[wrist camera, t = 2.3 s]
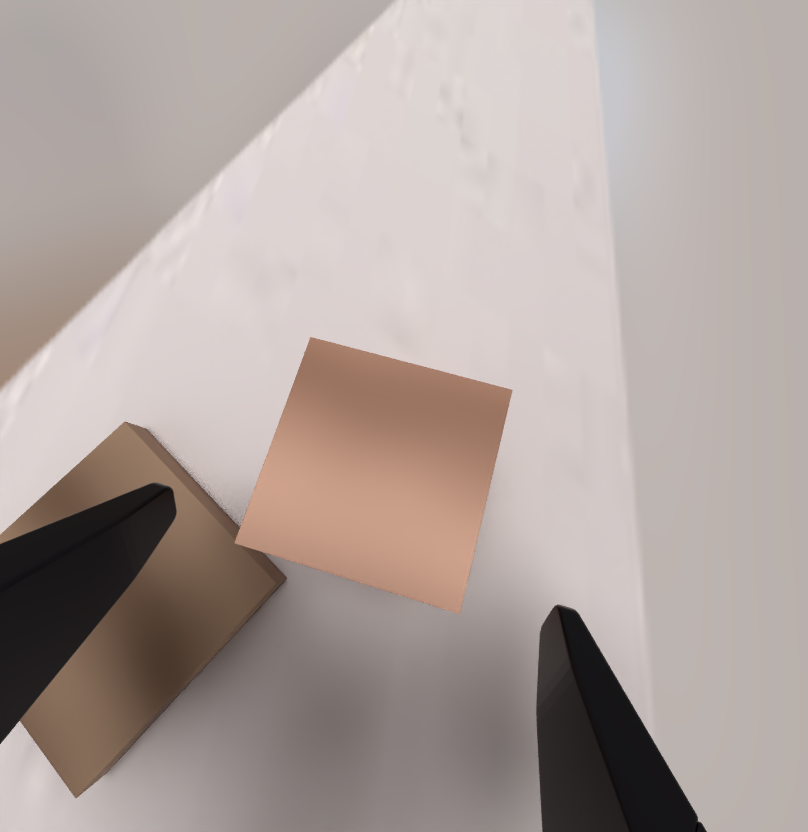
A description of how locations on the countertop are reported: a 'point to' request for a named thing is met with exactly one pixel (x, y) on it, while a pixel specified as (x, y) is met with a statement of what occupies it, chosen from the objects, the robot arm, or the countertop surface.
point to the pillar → (379, 473)
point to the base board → (142, 610)
